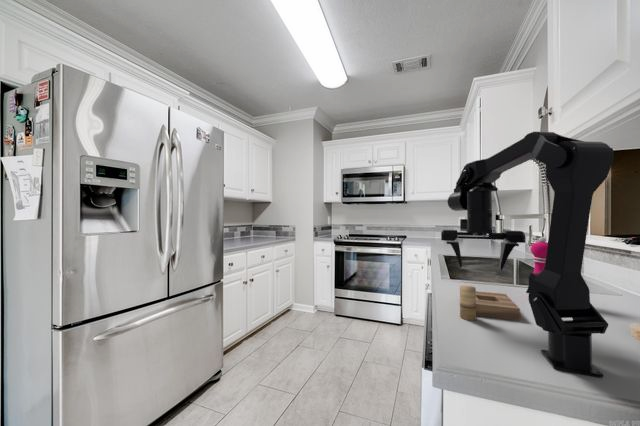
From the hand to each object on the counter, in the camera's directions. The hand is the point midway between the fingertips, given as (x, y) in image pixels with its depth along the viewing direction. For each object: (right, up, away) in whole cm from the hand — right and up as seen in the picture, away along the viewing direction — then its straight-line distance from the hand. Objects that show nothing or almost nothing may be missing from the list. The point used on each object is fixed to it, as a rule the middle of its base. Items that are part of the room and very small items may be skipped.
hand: (480, 268), depth 71 cm
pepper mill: (+28, -13, +14) cm, 34 cm away
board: (+5, -13, +6) cm, 15 cm away
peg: (-4, -13, -1) cm, 13 cm away
